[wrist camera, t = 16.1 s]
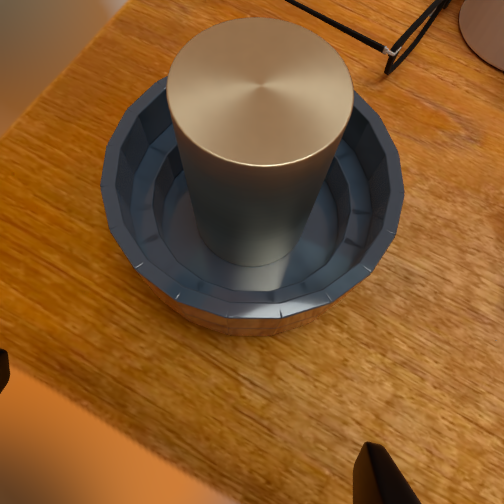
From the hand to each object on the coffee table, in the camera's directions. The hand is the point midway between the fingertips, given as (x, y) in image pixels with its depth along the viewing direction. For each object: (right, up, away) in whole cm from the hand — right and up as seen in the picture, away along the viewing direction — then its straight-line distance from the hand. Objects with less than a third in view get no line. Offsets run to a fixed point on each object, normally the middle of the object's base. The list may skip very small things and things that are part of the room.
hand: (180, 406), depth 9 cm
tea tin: (+2, +6, +10) cm, 12 cm away
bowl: (+2, +5, +12) cm, 13 cm away
